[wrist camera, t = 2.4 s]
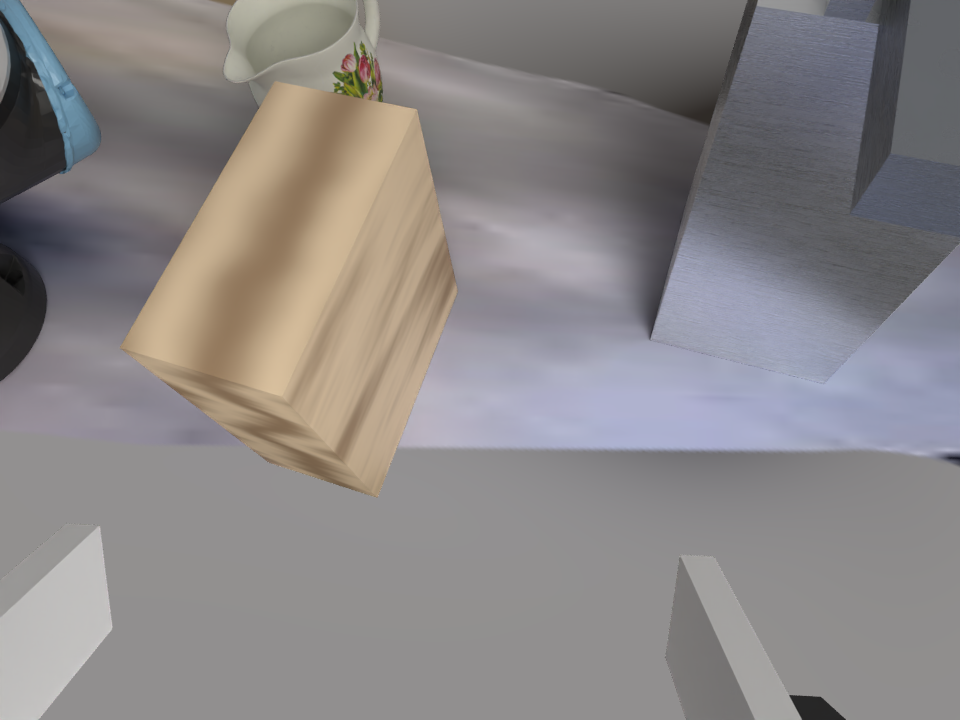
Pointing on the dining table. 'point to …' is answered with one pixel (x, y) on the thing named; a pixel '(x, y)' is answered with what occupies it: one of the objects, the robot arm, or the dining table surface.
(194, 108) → the dining table surface
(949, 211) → the bar
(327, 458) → the oak side stand
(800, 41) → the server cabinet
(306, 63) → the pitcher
